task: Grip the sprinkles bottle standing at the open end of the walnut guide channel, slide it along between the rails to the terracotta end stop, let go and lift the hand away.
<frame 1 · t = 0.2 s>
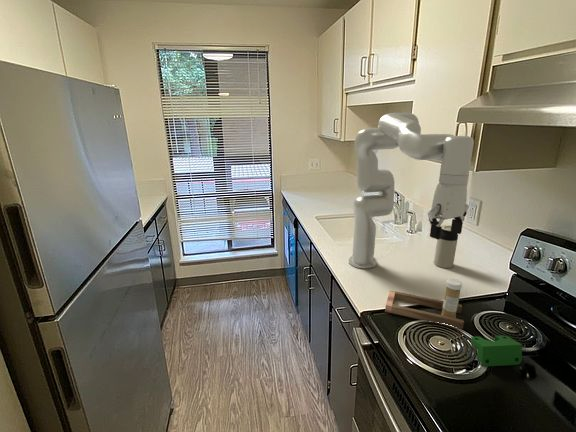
hand: (445, 235, 99), 30 cm above the counter, tool pointing down, fingers open, 9 cm apart
travel mug: (443, 265, 148), on the counter
green toy brick: (492, 358, 92), on the counter
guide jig: (425, 311, 113), on the counter
sprinkles bottle: (448, 317, 110), on the counter
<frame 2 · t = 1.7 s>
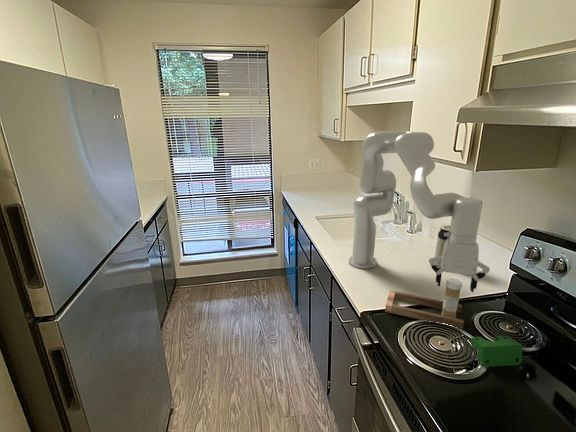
hand: (454, 287, 106), 12 cm above the counter, tool pointing down, fingers open, 9 cm apart
nothing on the counter moved.
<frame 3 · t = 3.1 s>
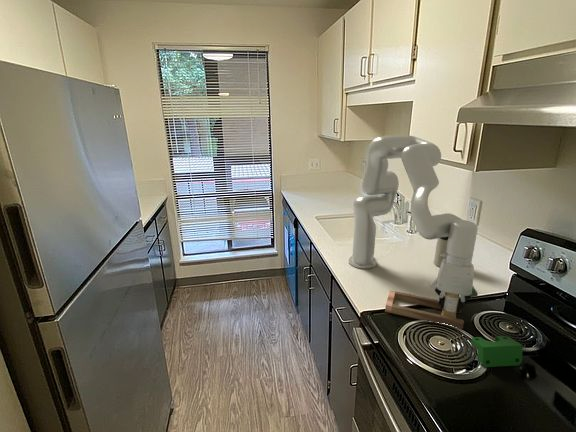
hand: (449, 308, 109), 3 cm above the counter, tool pointing down, fingers closed on sprinkles bottle, 4 cm apart
sprinkles bottle: (448, 317, 110), on the counter, touching gripper
everything else where it was.
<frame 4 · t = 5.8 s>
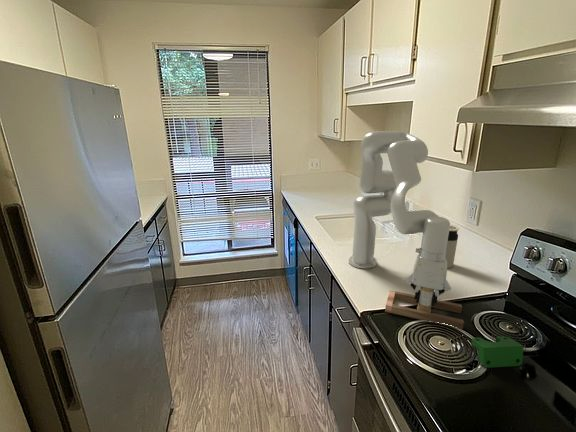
hand: (425, 302, 112), 4 cm above the counter, tool pointing down, fingers closed on sprinkles bottle, 4 cm apart
sprinkles bottle: (423, 311, 113), on the counter, touching gripper
everything else where it was.
when the fingers open (3 cm above the counter, at t = 8.6 s): sprinkles bottle stays where it is, on the counter.
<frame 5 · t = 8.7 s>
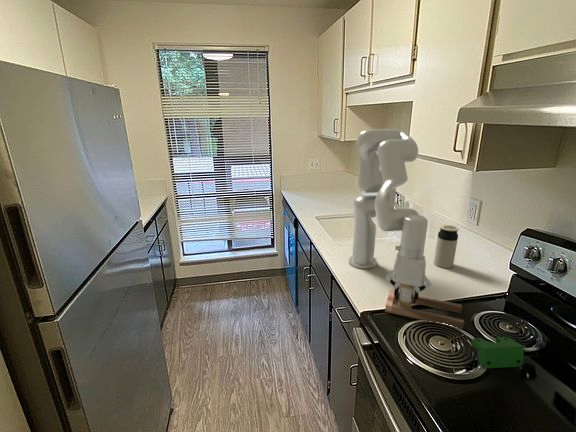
hand: (405, 298, 114), 3 cm above the counter, tool pointing down, fingers open, 5 cm apart
sprinkles bottle: (404, 307, 115), on the counter
everything else where it was.
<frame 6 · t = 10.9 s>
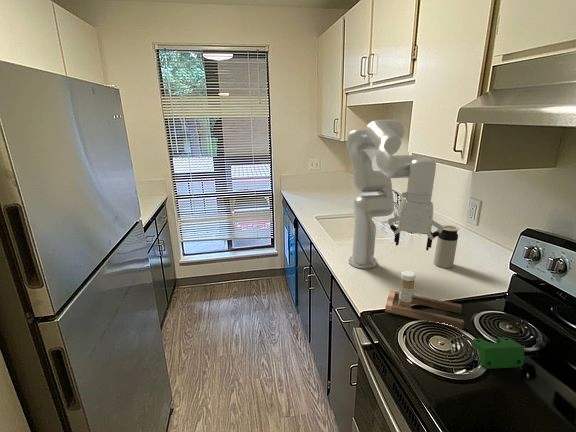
hand: (412, 246, 110), 23 cm above the counter, tool pointing down, fingers open, 9 cm apart
nothing on the counter moved.
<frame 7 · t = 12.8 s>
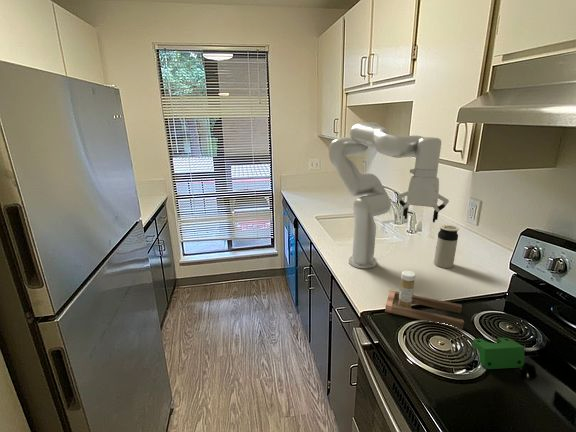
hand: (419, 219, 119), 28 cm above the counter, tool pointing down, fingers open, 9 cm apart
nothing on the counter moved.
at the end: sprinkles bottle 0.6 cm from the target spot, on the counter; sprinkles bottle tilted 0°; the gripper is holding nothing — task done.
